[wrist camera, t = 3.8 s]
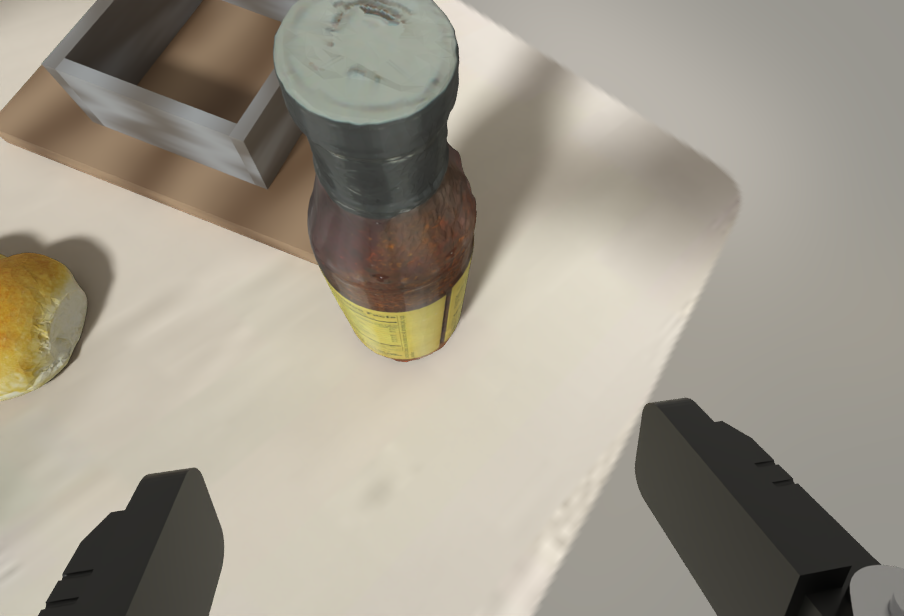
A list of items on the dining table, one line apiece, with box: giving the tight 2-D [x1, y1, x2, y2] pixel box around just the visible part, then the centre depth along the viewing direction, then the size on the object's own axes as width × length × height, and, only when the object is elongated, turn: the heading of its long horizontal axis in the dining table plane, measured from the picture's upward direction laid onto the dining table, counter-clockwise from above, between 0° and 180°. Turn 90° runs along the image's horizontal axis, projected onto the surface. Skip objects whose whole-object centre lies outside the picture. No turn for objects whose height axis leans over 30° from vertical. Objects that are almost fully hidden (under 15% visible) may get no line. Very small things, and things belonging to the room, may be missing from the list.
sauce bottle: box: [273, 0, 477, 362], centre depth 20 cm, size 6×6×20 cm
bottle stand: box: [0, 0, 318, 265], centre depth 31 cm, size 22×18×6 cm
